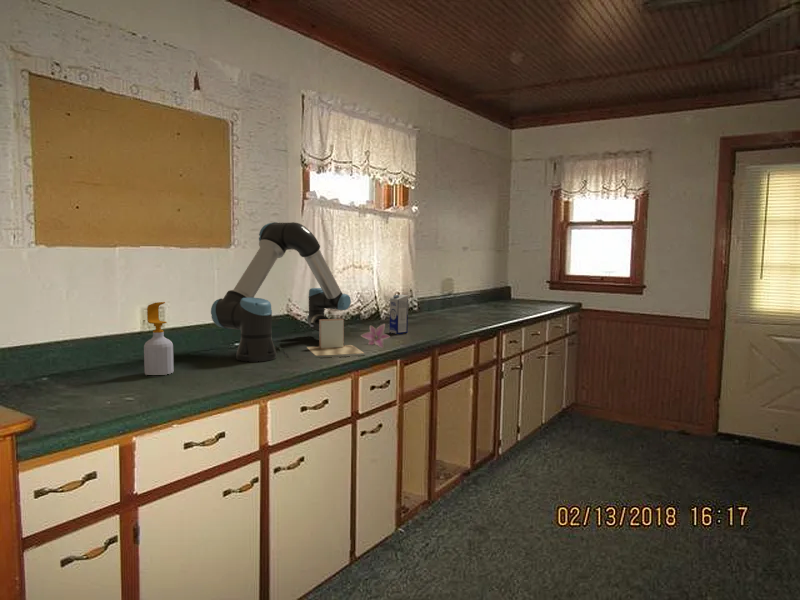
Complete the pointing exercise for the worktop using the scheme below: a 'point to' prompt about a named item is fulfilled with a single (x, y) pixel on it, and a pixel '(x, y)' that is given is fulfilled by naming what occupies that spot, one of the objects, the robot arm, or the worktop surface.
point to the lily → (376, 335)
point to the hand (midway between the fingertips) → (332, 330)
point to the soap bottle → (157, 346)
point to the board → (335, 351)
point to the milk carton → (399, 314)
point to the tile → (331, 333)
